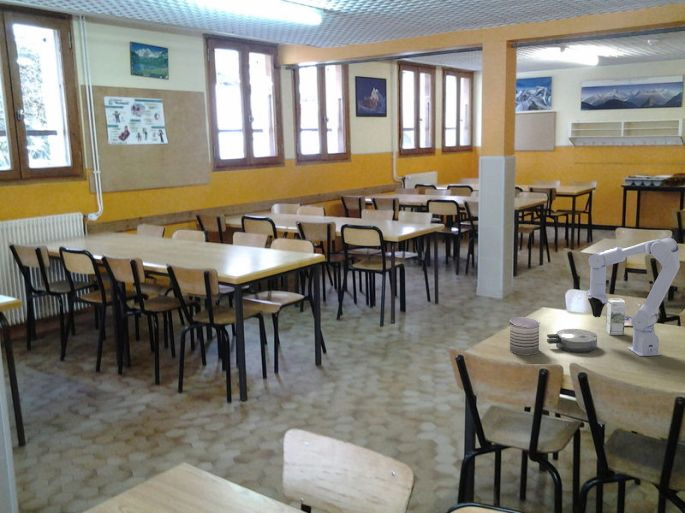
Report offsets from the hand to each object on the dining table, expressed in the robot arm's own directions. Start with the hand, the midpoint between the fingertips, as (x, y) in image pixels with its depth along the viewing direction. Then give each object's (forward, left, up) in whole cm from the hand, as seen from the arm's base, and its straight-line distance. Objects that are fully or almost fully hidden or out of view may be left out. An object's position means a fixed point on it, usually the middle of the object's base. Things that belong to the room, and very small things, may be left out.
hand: (596, 316), depth 258 cm
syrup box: (+9, -12, -11) cm, 18 cm away
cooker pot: (-5, +12, -10) cm, 17 cm away
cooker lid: (-5, +12, -6) cm, 14 cm away
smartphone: (+24, -24, -11) cm, 36 cm away
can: (-6, +31, -11) cm, 33 cm away
